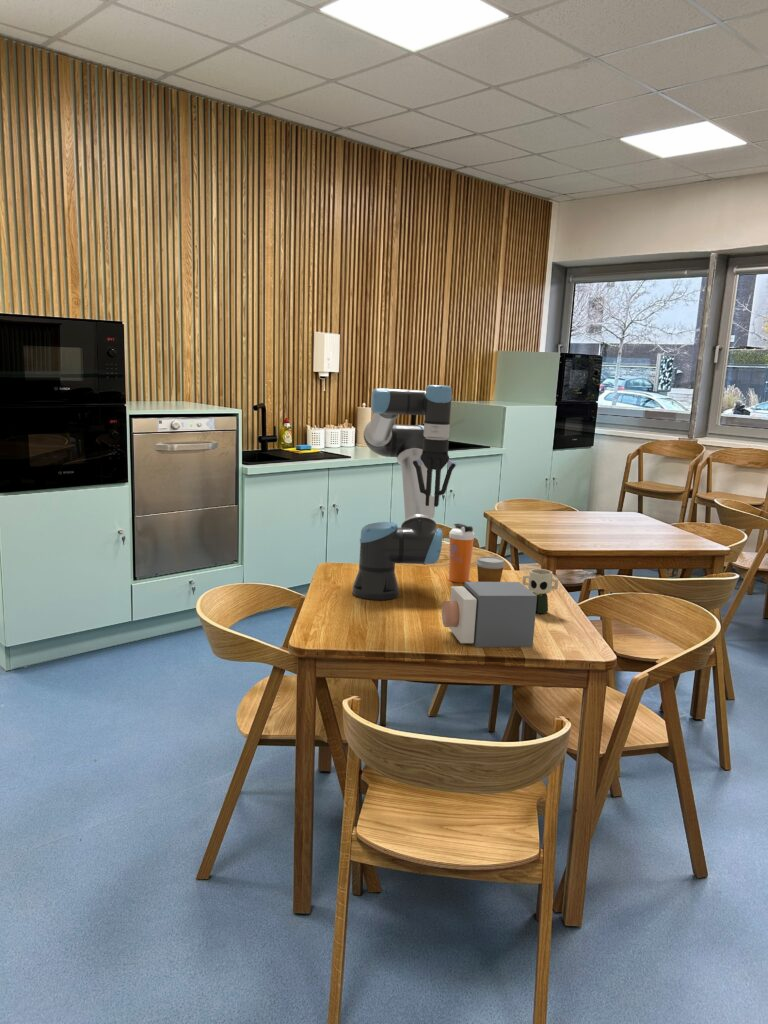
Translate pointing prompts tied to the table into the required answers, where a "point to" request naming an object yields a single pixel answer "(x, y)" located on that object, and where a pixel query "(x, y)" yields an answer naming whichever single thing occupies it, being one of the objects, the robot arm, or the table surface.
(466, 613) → the white drawer
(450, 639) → the table surface
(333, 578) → the table surface
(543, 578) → the character mug
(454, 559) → the shaker bottle
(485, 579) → the disposable coffee cup
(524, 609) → the block
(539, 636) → the table surface
